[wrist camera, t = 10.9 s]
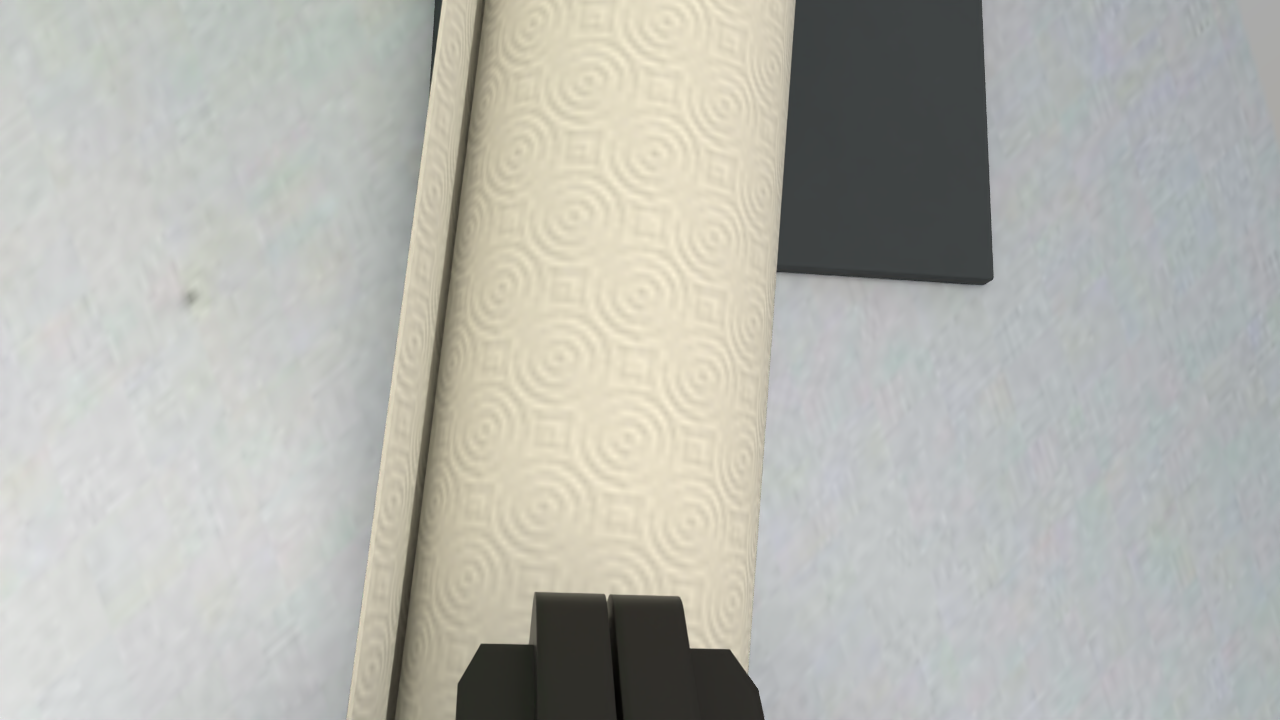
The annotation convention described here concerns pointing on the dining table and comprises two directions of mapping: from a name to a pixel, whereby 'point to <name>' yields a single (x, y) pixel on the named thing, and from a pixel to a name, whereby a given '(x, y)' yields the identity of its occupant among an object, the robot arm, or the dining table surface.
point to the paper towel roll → (578, 331)
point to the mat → (884, 141)
